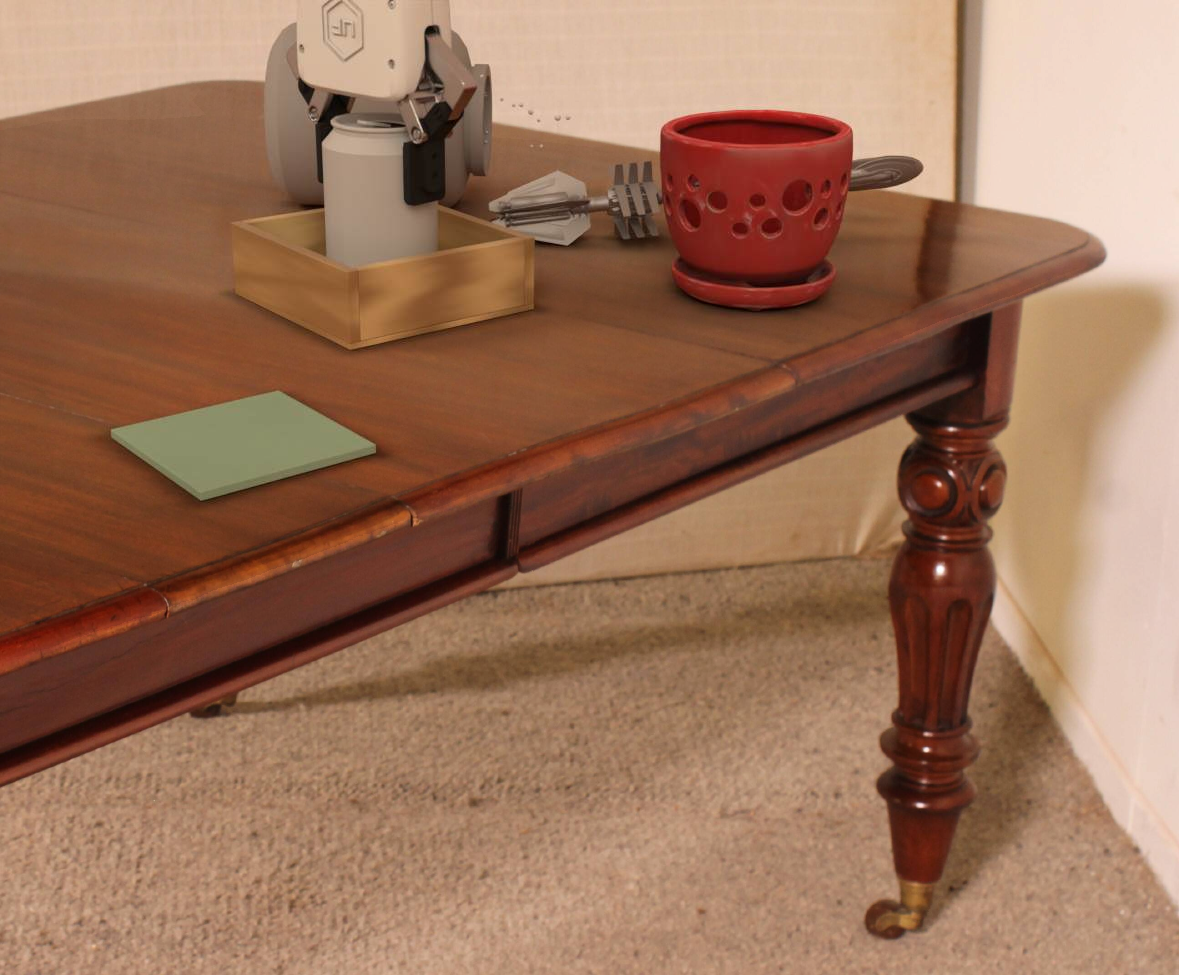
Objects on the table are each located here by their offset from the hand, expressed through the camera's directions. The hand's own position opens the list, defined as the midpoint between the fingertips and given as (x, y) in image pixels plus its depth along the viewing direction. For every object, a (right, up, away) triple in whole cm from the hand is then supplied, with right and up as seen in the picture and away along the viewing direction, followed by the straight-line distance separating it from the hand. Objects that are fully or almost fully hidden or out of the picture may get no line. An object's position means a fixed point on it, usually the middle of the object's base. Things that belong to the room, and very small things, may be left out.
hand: (380, 189), depth 99 cm
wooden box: (0, -7, +3) cm, 8 cm away
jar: (0, +5, +30) cm, 30 cm away
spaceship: (+23, 0, +21) cm, 31 cm away
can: (0, -7, +3) cm, 7 cm away
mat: (-4, -18, -21) cm, 27 cm away
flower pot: (+25, -6, +8) cm, 27 cm away
